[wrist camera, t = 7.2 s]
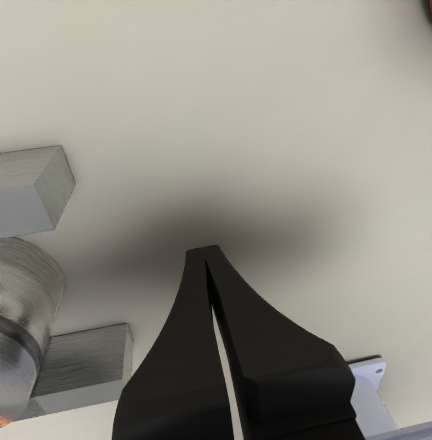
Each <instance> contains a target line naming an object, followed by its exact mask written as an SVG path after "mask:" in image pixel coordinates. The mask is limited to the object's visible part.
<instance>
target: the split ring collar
mask: <svg viewBox="0 0 432 440" xmlns="http://www.w3.org/2000/svg"><path fill="white" fill-rule="evenodd" d="M75 185H76V184H75V181H74V179H73V176H72V173H71V170H70V168H69V165H68V162H67V160H66V157H65V154H64V152H63V149H62V146H53V147H46V148H38V149H31V150H23V151H15V152H8V153H0V238H6V237H12V236H19V235H25V234H32V233H38V232H44V231H51V230H55V227H56V225H57V223H58V221H59V219H60V217H61V215H62V212H63V210H64V208H65V206H66V204H67V202H68V200H69V197H70V195H71V193H72V191H73V189H74V187H75ZM133 343H134V341H133V338H132V335H131V333H130V330H129V327H128V325H127V323H126V324H121V325H115V326H110V327H105V328H99V329H94V330H89V331H83V332H78V333H73V334H67V335H62V336H56V337H51V338H49V339H48V342H47V345H46V348H45V351H44V354H43V357H42V364H41V368H40V371H39V374H38V377H37V380H36V382H35V384H34V386H33V388H32V391H31V394H30V397H29V400H28V403H27V406H26V408H25V410H24V411H23V412H22V414H21V415H20V416H19V417H18V418H16V419H15V420H14V421H19V420H24V419H28V418H33V417H38V416H43V415H47V414H52V413H57V412H62V411H67V410H71V409H76V408H81V407H86V406H90V405H95V404H100V403H105V402H110V401H114V400H119V398H120V395H121V392H122V389H123V388H124V386H125V385H126V384H127V382H128V381H129V380H130V378H131V376H132V360H133ZM14 421H12V422H14Z"/></svg>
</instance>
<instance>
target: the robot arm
mask: <svg viewBox="0 0 432 440" xmlns="http://www.w3.org/2000/svg"><path fill="white" fill-rule="evenodd" d="M212 307H213V310H214V314H215V317H216V320H217V324H218V327H219V330H220V334H221V337H222V340H223V344H224V347H225V350H226V354H227V358H228V363H229V367H230V372H231V377H232V382H233V387H234V392H235V397H236V402H237V407H238V412H239V417H240V422H241V427H242V432H243V438H244V440H432V421H430V422H426V423H422V424H418V425H414V426H409V427H405V428H401V429H399V428H398V426H397V424H396V423H395V421H394V419H393V418H392V416H391V414H390V413H389V411H388V409H387V408H386V406H385V404H384V403H383V401H382V399H381V398H380V396H379V394H378V393H377V389H378V386H379V384H380V381H381V379H382V376H383V374H384V371H385V369H386V366H387V363H386V361H385V360H384V359H383V358H376V359H371V360H367V361H362V362H357V363H353V364H347V362H346V361H345V360H344V358H343V357H342V355H341V354H340V353H339V352H338V350H337V349H336V348H335V346H334V345H332V344H330V343H328V342H326V341H325V340H323V339H321V338H319V337H317V336H315V335H313V334H312V333H310V332H308V331H307V330H305V329H303V328H302V327H300V326H299V325H297V324H296V323H294V322H293V321H291V320H290V319H288V318H287V317H286V316H284V315H283V314H281V313H280V312H279V311H277V310H276V309H275V308H274V307H272V306H271V305H270V304H269V303H267V302H266V301H265V300H264V299H263V298H262V297H261V296H260V295H258V294H257V293H256V292H255V291H254V290H253V289H252V288H251V287H250V286H249V285H248V284H247V283H246V282H245V280H244V279H243V278H242V277H241V276H240V275H239V274H238V272H237V271H236V270H235V269H234V268H233V266H232V265H231V264H230V262H229V261H228V260H227V258H226V257H225V255H224V254H223V252H222V250H221V249H220V247H219V246H218V245H213V246H207V247H201V248H195V249H190V250H188V251H187V252H186V261H185V267H184V272H183V276H182V280H181V283H180V287H179V290H178V293H177V296H176V299H175V301H174V304H173V307H172V309H171V311H170V314H169V316H168V318H167V320H166V322H165V324H164V326H163V328H162V330H161V332H160V334H159V336H158V338H157V339H156V341H155V343H154V345H153V346H152V348H151V349H150V351H149V352H148V354H147V356H146V357H145V359H144V360H143V362H142V363H141V365H140V366H139V368H138V369H137V370H136V372H135V373H134V374H133V376H132V377H131V378H130V380H129V381H128V382H127V384H126V385H125V386H124V388H123V389H122V392H121V395H120V398H119V402H118V405H117V409H116V413H115V418H114V423H113V432H112V440H234V434H233V426H232V418H231V410H230V403H229V398H228V393H227V388H226V383H225V378H224V374H223V369H222V365H221V360H220V355H219V351H218V346H217V341H216V337H215V332H214V326H213V315H212Z"/></svg>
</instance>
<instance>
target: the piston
mask: <svg viewBox="0 0 432 440" xmlns="http://www.w3.org/2000/svg"><path fill="white" fill-rule="evenodd" d="M64 288H65V281H64V276H63V273H62V271H61V269H60V267H59V266H58V264H57V263H56V262H55V260H54V259H53V258H52V257H51V256H50V255H48V254H47V253H46V252H45V251H43V250H42V249H40V248H39V247H37V246H35V245H33V244H31V243H29V242H27V241H25V240H22V239H19V238H16V237H6V238H0V428H2V427H4V426H6V425H7V424H9V423H11V422H12V421H14V420H15V419H16V418H18V417H19V416H20V415H21V414H22V412H23V411H24V410H25V408H26V406H27V403H28V400H29V397H30V394H31V391H32V388H33V386H34V384H35V382H36V380H37V377H38V374H39V371H40V368H41V364H42V357H43V354H44V351H45V348H46V345H47V342H48V339H49V336H50V333H51V329H52V326H53V323H54V320H55V317H56V314H57V311H58V308H59V305H60V302H61V299H62V296H63V292H64Z"/></svg>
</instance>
